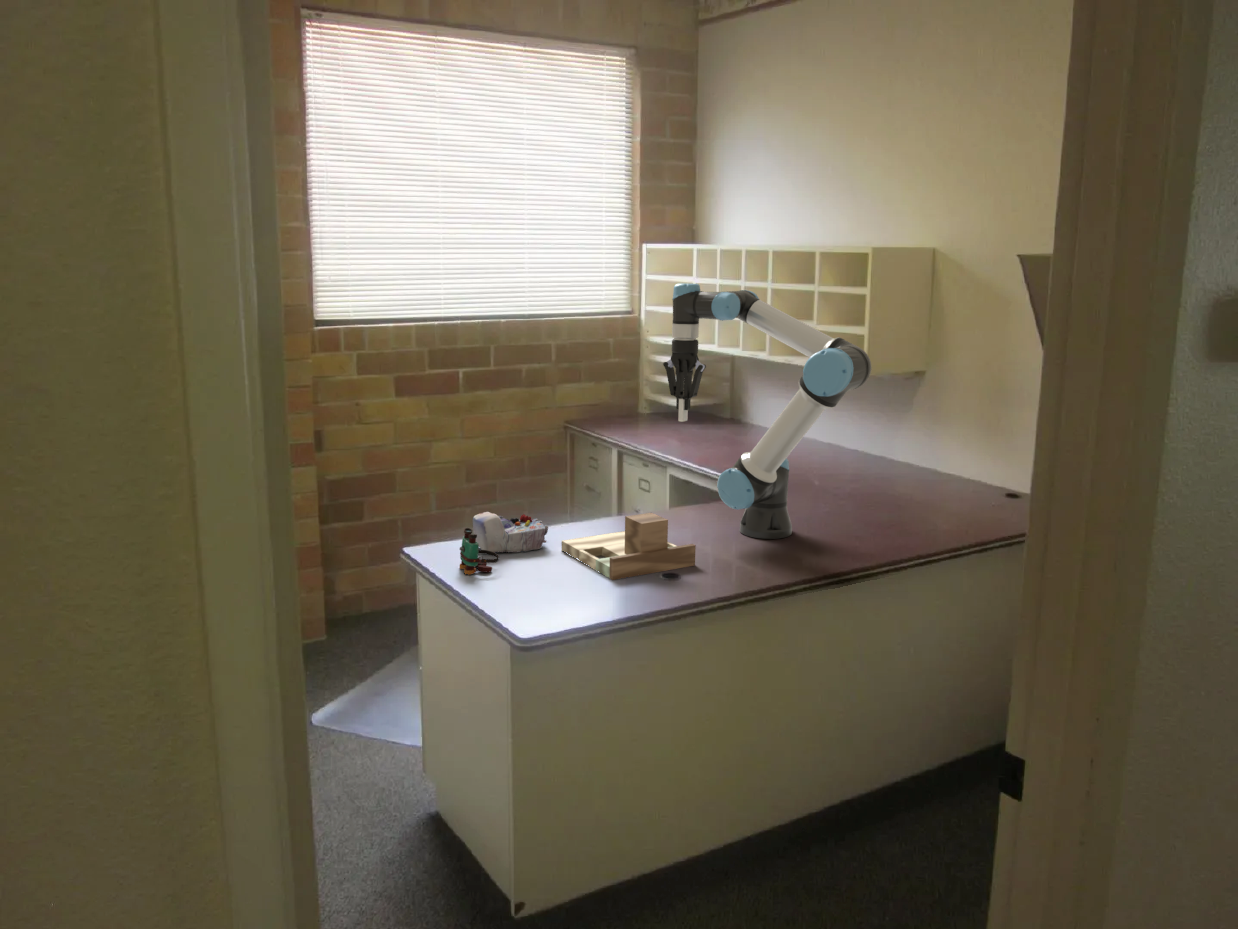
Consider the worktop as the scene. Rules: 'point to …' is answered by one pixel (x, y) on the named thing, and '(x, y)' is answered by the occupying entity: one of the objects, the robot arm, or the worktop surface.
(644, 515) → the walnut block
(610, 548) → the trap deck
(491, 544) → the cell model
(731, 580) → the worktop surface
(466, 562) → the binoculars
